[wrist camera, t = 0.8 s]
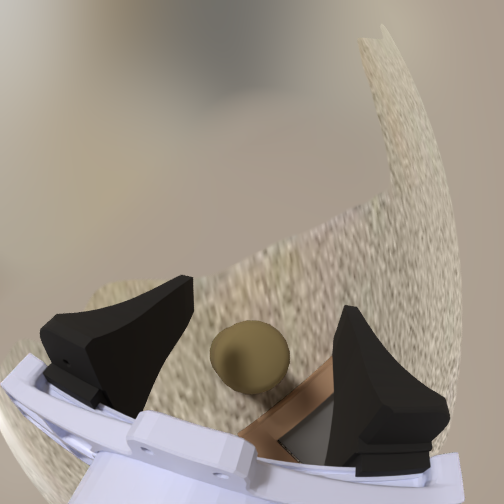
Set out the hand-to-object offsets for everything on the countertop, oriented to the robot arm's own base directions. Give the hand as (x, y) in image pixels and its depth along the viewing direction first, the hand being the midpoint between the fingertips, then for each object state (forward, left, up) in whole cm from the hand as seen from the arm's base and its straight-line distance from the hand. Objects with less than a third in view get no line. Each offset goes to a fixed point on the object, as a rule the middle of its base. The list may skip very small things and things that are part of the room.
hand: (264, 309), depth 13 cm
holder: (+1, -16, -16) cm, 23 cm away
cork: (-1, -2, -16) cm, 16 cm away
